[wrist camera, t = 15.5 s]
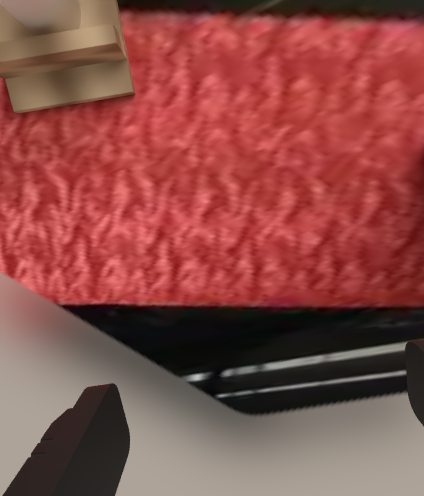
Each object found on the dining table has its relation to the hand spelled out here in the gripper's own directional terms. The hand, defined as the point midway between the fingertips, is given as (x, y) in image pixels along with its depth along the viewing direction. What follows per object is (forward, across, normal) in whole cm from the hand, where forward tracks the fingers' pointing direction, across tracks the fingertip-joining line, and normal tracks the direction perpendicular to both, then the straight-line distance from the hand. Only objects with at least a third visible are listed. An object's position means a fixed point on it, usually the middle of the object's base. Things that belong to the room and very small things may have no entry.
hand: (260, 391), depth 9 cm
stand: (+28, +13, -23) cm, 39 cm away
